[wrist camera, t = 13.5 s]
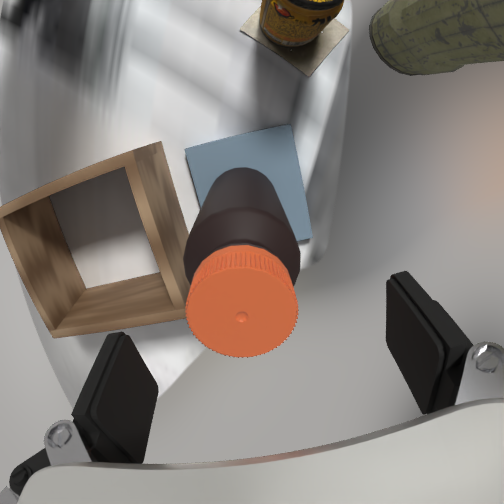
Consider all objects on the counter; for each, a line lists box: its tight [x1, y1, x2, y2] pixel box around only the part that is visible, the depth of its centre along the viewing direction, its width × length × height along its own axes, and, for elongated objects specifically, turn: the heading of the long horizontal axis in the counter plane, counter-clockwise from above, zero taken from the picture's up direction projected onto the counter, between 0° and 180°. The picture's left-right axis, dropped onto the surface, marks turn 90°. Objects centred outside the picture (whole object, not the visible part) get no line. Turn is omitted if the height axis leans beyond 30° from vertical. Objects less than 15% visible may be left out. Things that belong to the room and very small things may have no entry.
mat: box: [185, 124, 313, 241], centre depth 32 cm, size 12×10×1 cm
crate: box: [0, 141, 191, 338], centre depth 30 cm, size 15×16×9 cm
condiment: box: [240, 0, 349, 77], centre depth 20 cm, size 7×8×12 cm
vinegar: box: [183, 167, 300, 358], centre depth 23 cm, size 7×7×20 cm
